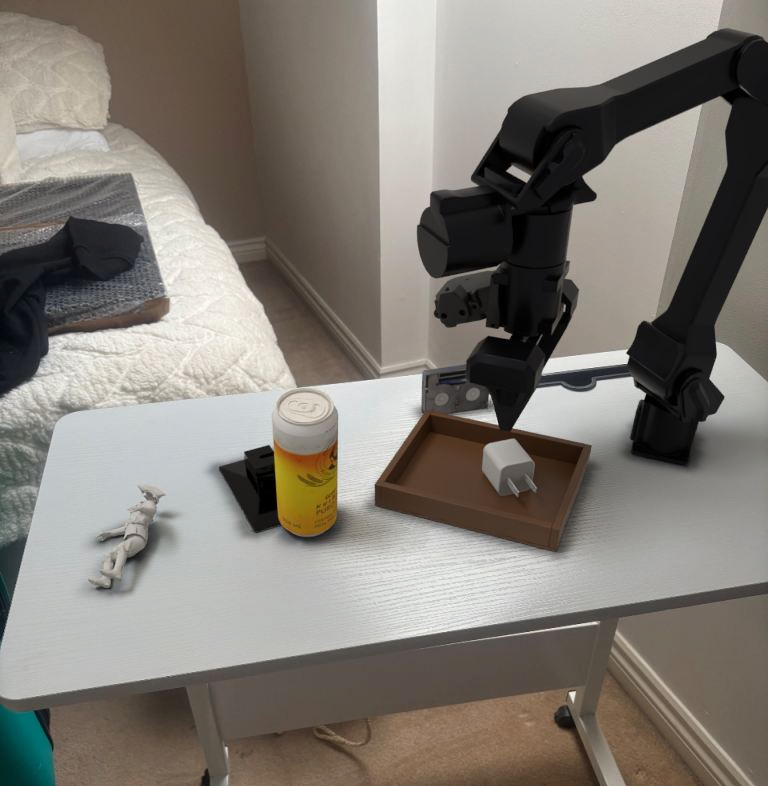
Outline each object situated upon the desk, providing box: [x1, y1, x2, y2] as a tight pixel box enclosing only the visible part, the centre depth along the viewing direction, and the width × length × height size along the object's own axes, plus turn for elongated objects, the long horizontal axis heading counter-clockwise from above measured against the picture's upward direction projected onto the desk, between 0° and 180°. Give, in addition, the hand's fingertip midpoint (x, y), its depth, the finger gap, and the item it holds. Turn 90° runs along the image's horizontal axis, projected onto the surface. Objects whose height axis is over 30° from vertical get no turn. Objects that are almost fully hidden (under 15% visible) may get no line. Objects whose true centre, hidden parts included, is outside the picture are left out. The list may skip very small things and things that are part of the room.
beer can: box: [271, 387, 339, 538], centre depth 81 cm, size 6×6×15 cm
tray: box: [374, 410, 593, 553], centre depth 90 cm, size 20×16×3 cm
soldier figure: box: [87, 484, 167, 589], centre depth 82 cm, size 8×5×12 cm
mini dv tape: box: [420, 363, 490, 415], centre depth 101 cm, size 8×2×6 cm, turn 106°
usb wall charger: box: [482, 439, 537, 497], centre depth 89 cm, size 4×7×4 cm, turn 18°
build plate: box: [218, 444, 282, 534], centre depth 89 cm, size 12×7×5 cm, turn 26°
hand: (517, 406), depth 83 cm, fingers open, 9 cm apart
